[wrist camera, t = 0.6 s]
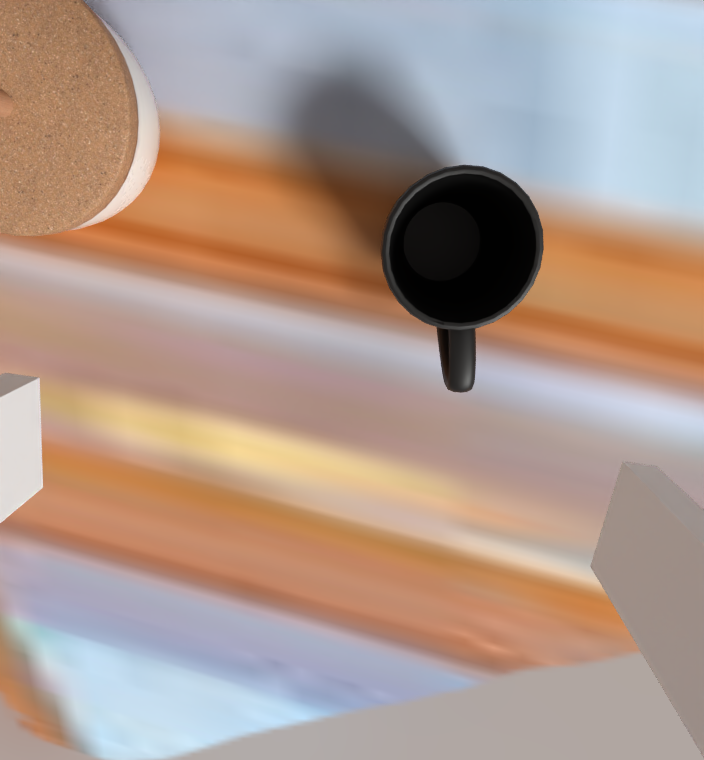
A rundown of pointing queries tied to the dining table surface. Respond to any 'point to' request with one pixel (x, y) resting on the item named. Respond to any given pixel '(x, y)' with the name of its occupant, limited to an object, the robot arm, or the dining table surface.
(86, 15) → the lidded bowl
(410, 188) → the mug
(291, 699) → the dining table surface
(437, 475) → the dining table surface
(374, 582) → the dining table surface
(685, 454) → the dining table surface
